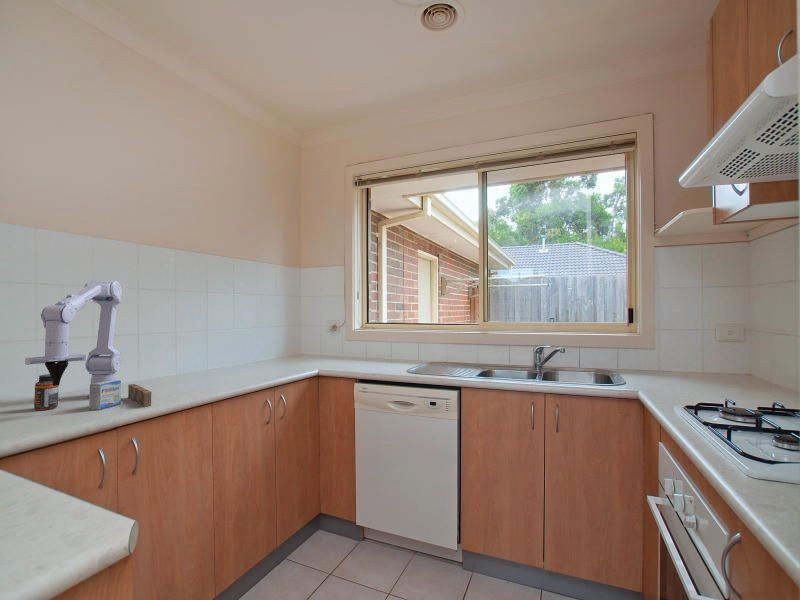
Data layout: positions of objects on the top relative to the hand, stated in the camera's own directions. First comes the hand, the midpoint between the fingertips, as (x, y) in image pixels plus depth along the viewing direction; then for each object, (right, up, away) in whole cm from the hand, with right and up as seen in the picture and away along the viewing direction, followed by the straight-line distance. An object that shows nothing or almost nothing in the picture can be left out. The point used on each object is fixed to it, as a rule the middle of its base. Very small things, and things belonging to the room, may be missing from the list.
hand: (55, 385), depth 125 cm
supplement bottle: (-9, -10, +6) cm, 15 cm away
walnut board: (+15, -10, +17) cm, 25 cm away
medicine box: (+9, -10, +10) cm, 16 cm away
